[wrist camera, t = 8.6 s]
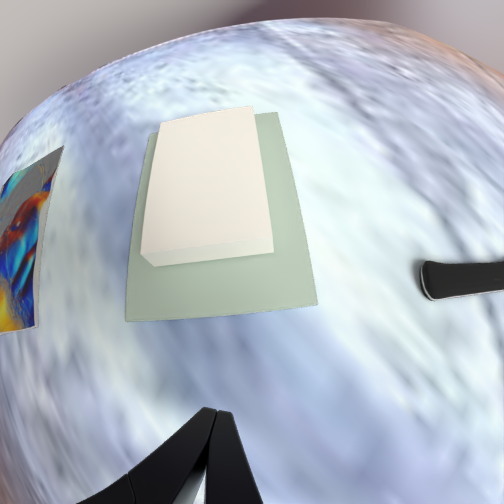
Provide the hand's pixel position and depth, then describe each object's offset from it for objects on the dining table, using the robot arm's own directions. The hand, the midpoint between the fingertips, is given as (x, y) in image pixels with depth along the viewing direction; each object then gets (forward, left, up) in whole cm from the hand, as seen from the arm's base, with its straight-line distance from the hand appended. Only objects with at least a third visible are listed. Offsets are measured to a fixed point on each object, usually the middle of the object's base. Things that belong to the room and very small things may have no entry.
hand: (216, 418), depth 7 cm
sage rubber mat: (+9, +12, -10) cm, 18 cm away
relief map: (-10, +32, -11) cm, 36 cm away
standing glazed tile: (+5, +8, -8) cm, 13 cm away
